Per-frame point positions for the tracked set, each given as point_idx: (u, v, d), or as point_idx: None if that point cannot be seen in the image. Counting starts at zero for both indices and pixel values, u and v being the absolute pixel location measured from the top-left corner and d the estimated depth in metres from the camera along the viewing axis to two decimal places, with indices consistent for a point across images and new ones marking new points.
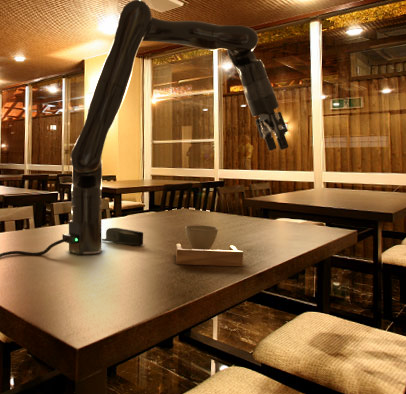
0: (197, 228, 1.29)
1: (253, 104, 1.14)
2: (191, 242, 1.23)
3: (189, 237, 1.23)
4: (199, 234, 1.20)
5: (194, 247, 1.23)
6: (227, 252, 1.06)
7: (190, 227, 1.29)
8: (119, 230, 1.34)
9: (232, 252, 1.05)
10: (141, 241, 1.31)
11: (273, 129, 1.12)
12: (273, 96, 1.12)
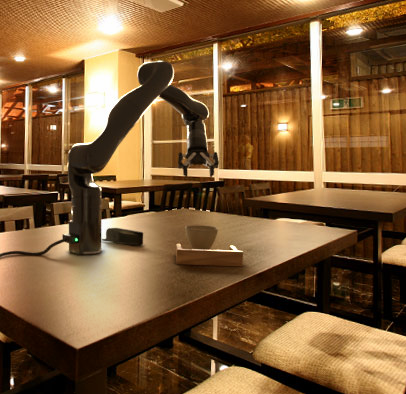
0: (197, 228, 1.29)
1: (202, 139, 1.46)
2: (191, 242, 1.23)
3: (189, 237, 1.23)
4: (199, 234, 1.20)
5: (194, 247, 1.23)
6: (227, 252, 1.06)
7: (190, 227, 1.29)
8: (119, 230, 1.34)
9: (232, 252, 1.05)
10: (141, 241, 1.31)
11: None
12: None
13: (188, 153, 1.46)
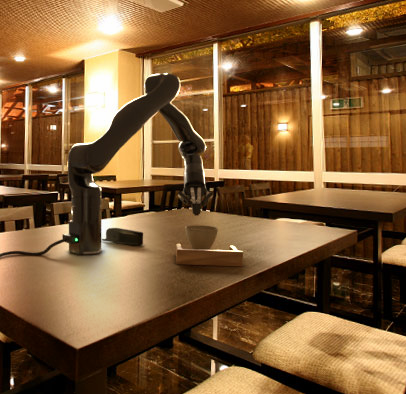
0: (197, 228, 1.29)
1: (200, 174, 1.45)
2: (191, 242, 1.23)
3: (189, 237, 1.23)
4: (199, 234, 1.20)
5: (194, 247, 1.23)
6: (227, 252, 1.06)
7: (190, 227, 1.29)
8: (119, 230, 1.34)
9: (232, 252, 1.05)
10: (141, 241, 1.31)
11: None
12: None
13: (185, 188, 1.44)
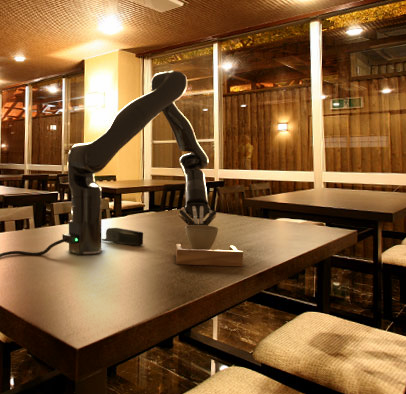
0: (197, 228, 1.29)
1: (202, 191, 1.37)
2: (191, 242, 1.23)
3: (189, 237, 1.23)
4: (199, 234, 1.20)
5: (194, 247, 1.23)
6: (227, 252, 1.06)
7: (190, 227, 1.29)
8: (119, 230, 1.34)
9: (232, 252, 1.05)
10: (141, 241, 1.31)
11: (202, 218, 1.33)
12: None
13: (187, 206, 1.37)
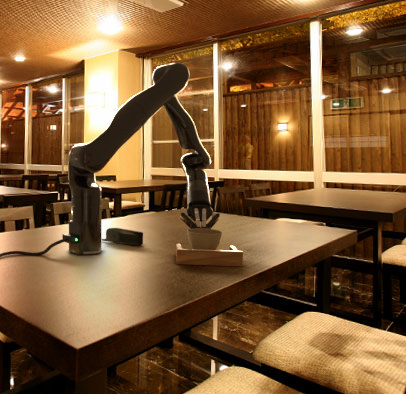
0: (200, 231, 1.23)
1: (205, 193, 1.31)
2: (193, 246, 1.17)
3: (191, 241, 1.17)
4: (202, 238, 1.14)
5: None
6: (227, 252, 1.06)
7: (192, 230, 1.22)
8: (119, 230, 1.34)
9: (232, 252, 1.05)
10: (141, 241, 1.31)
11: (205, 221, 1.26)
12: None
13: (189, 208, 1.30)
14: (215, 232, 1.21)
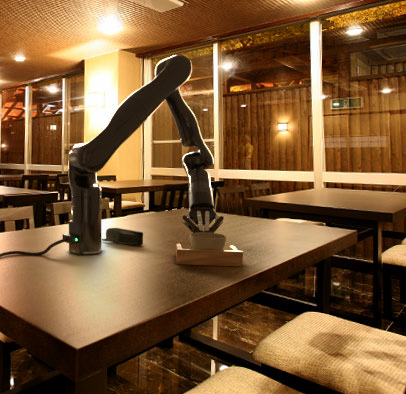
0: (203, 236, 1.16)
1: (208, 194, 1.24)
2: None
3: (194, 246, 1.10)
4: (205, 243, 1.07)
5: None
6: (227, 252, 1.06)
7: (195, 235, 1.15)
8: (119, 230, 1.34)
9: (232, 252, 1.05)
10: (141, 241, 1.31)
11: (208, 224, 1.20)
12: None
13: (191, 211, 1.23)
14: (219, 236, 1.14)
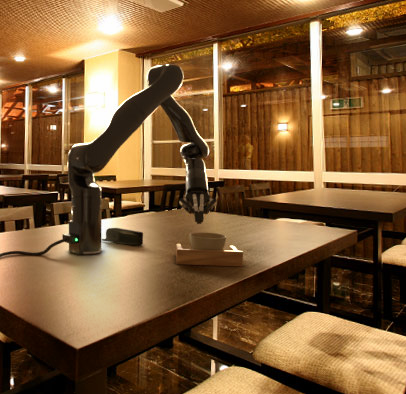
0: (203, 236, 1.16)
1: (203, 180, 1.38)
2: None
3: (194, 246, 1.10)
4: (205, 243, 1.07)
5: None
6: (227, 252, 1.06)
7: (195, 235, 1.15)
8: (119, 230, 1.34)
9: (232, 252, 1.05)
10: (141, 241, 1.31)
11: (203, 205, 1.33)
12: None
13: (187, 194, 1.37)
14: (219, 236, 1.14)
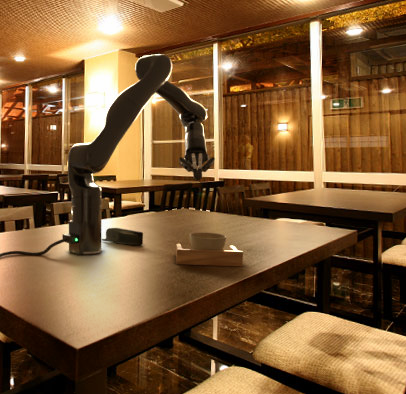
0: (203, 236, 1.16)
1: (201, 140, 1.44)
2: None
3: (194, 246, 1.10)
4: (205, 243, 1.07)
5: None
6: (227, 252, 1.06)
7: (195, 235, 1.15)
8: (119, 230, 1.34)
9: (232, 252, 1.05)
10: (141, 241, 1.31)
11: (201, 163, 1.39)
12: None
13: (187, 154, 1.43)
14: (219, 236, 1.14)
